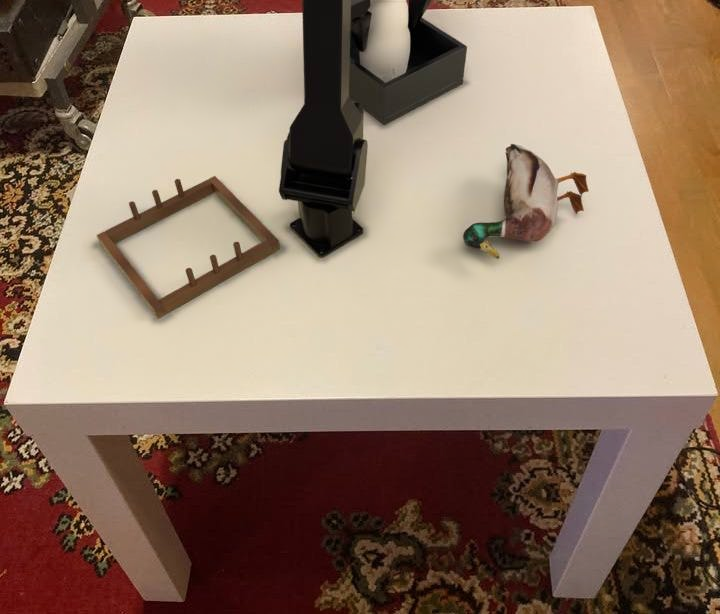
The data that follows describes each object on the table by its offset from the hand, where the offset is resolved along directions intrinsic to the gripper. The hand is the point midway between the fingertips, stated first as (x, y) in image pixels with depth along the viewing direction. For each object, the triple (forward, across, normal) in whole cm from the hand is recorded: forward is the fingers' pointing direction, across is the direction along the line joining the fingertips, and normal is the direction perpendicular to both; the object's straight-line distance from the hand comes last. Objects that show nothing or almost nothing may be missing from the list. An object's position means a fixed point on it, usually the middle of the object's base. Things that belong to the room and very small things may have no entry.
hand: (387, 38), depth 99 cm
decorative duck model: (+6, +7, +31) cm, 32 cm away
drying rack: (+6, +39, +11) cm, 41 cm away
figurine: (+5, +1, 0) cm, 5 cm away
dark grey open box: (+6, 0, 0) cm, 6 cm away
